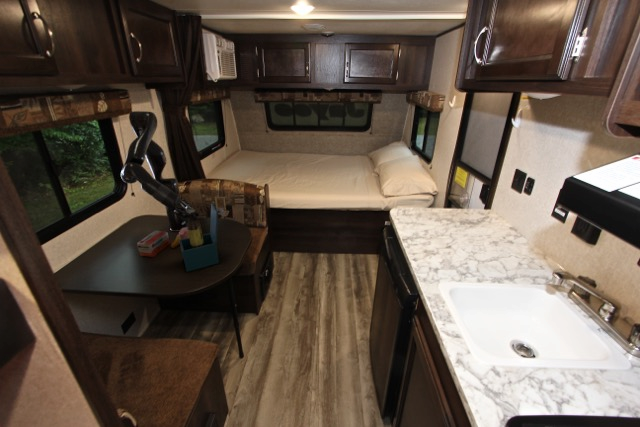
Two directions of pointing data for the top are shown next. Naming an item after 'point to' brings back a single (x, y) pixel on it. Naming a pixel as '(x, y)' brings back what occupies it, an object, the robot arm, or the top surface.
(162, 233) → the medicine box
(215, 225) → the cool box lid
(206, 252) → the cool box
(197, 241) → the sauce bottle
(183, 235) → the ice cream
